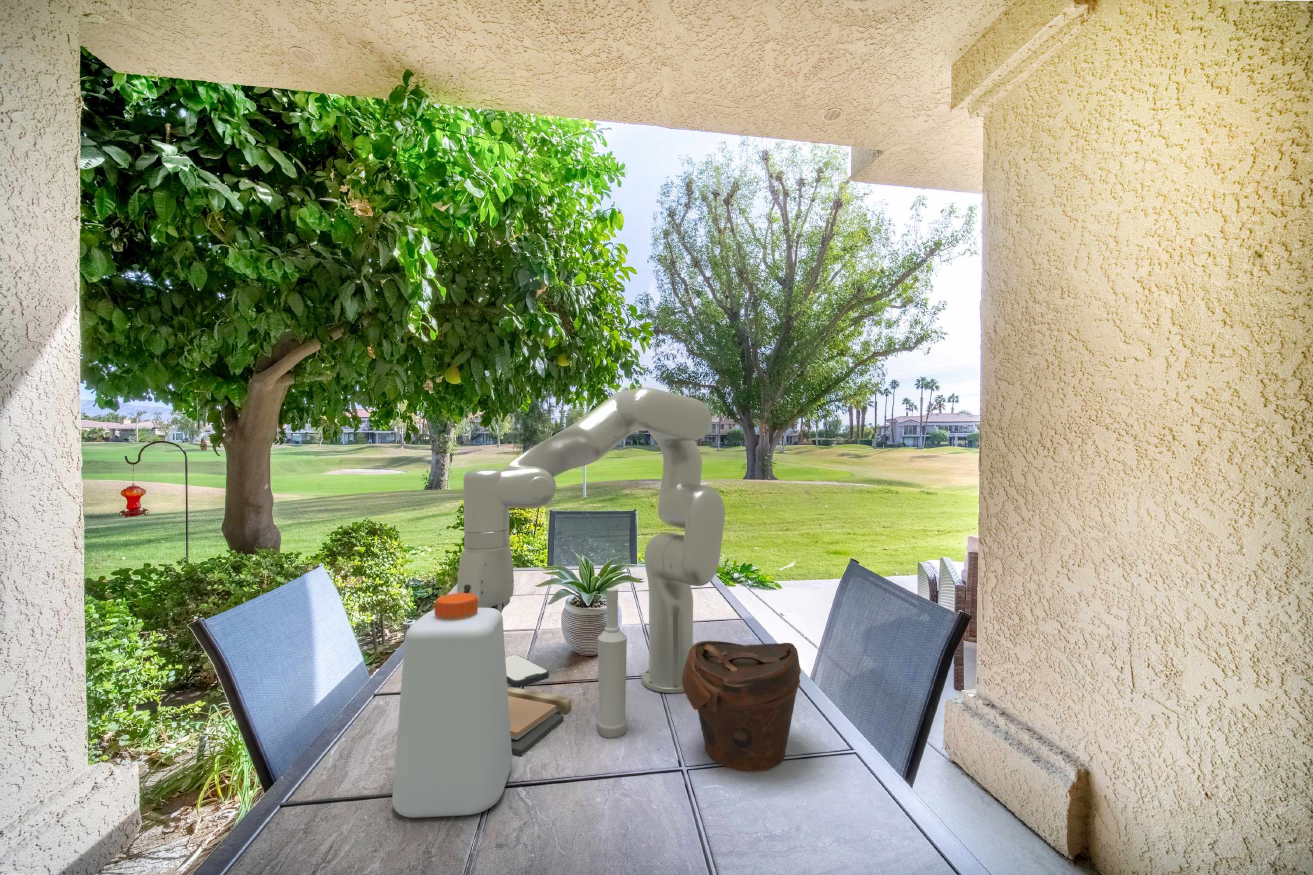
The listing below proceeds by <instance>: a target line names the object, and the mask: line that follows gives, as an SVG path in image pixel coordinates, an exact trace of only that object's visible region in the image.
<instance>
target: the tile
mask: <svg viewBox="0 0 1313 875" xmlns="http://www.w3.org/2000/svg"><path fill="white" fill-rule="evenodd" d="M508 704H509V719H510V733H511V739H516V740H518V739H519V738H520V737H522V736H523V735H525V734H526V733H528V732H529V731H530V730H532V729H533V728H535V727H536V726H537V725H539V724H540V723H542V722H543V721H544V720H546V719H547V718H549V717H550V716H551V715H553V714H554V713H556V705H552V704H547V703H542V702H537V701H532V700H526V699H521V698H516V697H511V696H508Z"/></svg>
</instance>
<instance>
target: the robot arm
mask: <svg viewBox="0 0 1313 875" xmlns="http://www.w3.org/2000/svg"><path fill="white" fill-rule="evenodd" d="M712 419H713V418H712V413H711V411H710V409H709V407H708V406H707V405H706V404H705V403H704V402H703V401H701V400H699V399H697V398H693V397H690V396H684V395H682V394H681V395H680V394H676V393H673V392H671V391H665V390H662V389H658V388H657V389H656V388H651V387H639V388H632V389H625V390H621V391H619V392H617V393H614V394H613V395H612V396H610V397H608V398H607V399H605V400H604V401H603V402H601V403H600V404H599V405H598V406H596V407H595V408H594V409H592V410H591V411H590V412H588V413H587V414H585V415H584V416H582V417H581V418H580V419H578V420H577V421H575V422H574V423H573V424H571V425H569V426H568V427H567V428H564V429H563V430H561V431H559V432H557V433H555V434H554V435H553V436H551V437H549V438H547V439H544V441H541V442H539V443H538V444H536V445H534V446H532V447H531V448H530V449H528V450H527V451H525V452H523V453H522V454H520V455H519V456H518V457H516V458H515V459H514V460H513V461H511V462H509V463H508V464H507V465H506V466H504V468H502V469H501V468H479V469H477V468H475V469H471V470H468V471H467V472H465V474H464V476H463V484H462V485H463V531H464V534H463V535H464V536H463V537H464V539H463V540H464V542H463V543H464V550H462V551H461V554H460V558H459V564H458V573H457V585H456V587H457V589H456V590H457V591H456V593H469V594H473V595H475V596H476V597H477V598H478V608H494V609H497V610H498V611H500V612H501V614H502V612H503V610H504V608H506V607H507V606H508V605H509V604H510V603H511V598H512V597H513V595H514V589H515V588H514V587H515V586H514V585H515V582H514V581H515V580H514V579H515V578H514V577H515V576H514V567H513V566H514V564H513V556H512V551H511V546H510V545H511V544H510V509H512V508H513V509H514V508H515V509H527V510H528V509H531V510H532V509H534V510H535V509H539V508H542V507H544V506H546V505H548V504H549V503H550V502H551V501H552V500H553V499H554V497H555V494H556V492H557V483H556V480H555V477H557V476H559V475H560V474H561V475H562V473H565V472H568V471H571V470H574V469H578V468H581V467H585V466H587V465H591V464H593V463H595V462H597V461H599V460H600V459H602V458H603V457H604V456H606V454H609V452H610V451H612V450H613V449H615V447H616V446H618V445H619V444H621V442H623V441H624V440H625V439H627V438H628V437H630V435H632V434H634V433H636V432H646V431H648V433H649V434H650V436H652V438H653V439H654V440H655V442H656V443H657V446H659V449H660V451H661V454H662V460H663V466H662V475H661V483H660V489H659V497H658V506H657V514H658V518H659V519H660V521H661V522H662V523H663V524H665V525H667V526H670V527H672V528H673V527H674V528H678V529H683V530H684V534H679V533H674V532H673V533H672V532H663V533H662V532H661V533H658V534H656V535H655V536H653V537H652V538H651V539H649V541H648V542H647V544H646V546H645V550H644V565H645V566H644V567H645V572H646V577H647V584H648V666H649V667H648V669H647V670H645V671H644V672H643V673H642V675H641V682H642V684H643V686H644V687H645V688H647V689H649V690H651V691H655V692H659V693H665V694H678V693H685V691H684V688H683V684H682V676H683V670H684V667H685V664H686V661H687V658H688V654H689V652H690V649H691V647H692V646H693V645H694V597H693V596H694V595H693V589H692V586H693V587H702V586H705V585H708V584H709V583H710V582H711V581H712V580H713V578H714V577H715V575H716V573H717V571H718V568H719V563H720V558H721V550H722V545H723V544H722V543H723V536H724V528H725V517H726V510H725V509H726V508H725V504H724V500H723V498H722V496H721V495H720V494H721V493H719V491H717V490H716V489H715V488H713V487H711V486H707V485H703V484H702V485H701V482H702V471H703V470H702V468H703V460H702V459H703V458H702V454H701V451H700V449H699V446H698V444H697V442H696V441H697V440H700V439H702V438H704V437H705V436H706V435H708V434H709V431H710V429H711V428H712V421H713V420H712ZM502 615H503V614H502Z"/></svg>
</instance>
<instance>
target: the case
mask: <svg viewBox="0 0 1313 875" xmlns="http://www.w3.org/2000/svg"><path fill="white" fill-rule="evenodd" d="M799 658H800V657H799V653H798V650H797V647H796V646H795V644H793V643H791V642H782V643H762V644H761V643H760V644H758V643H757V644H755V643H754V644H746V645H745V644H738V643H735V642H729V641H728V642H727V641H720V640H704V641H703V640H702V641H698V642H695V643H693V646H692V647H691V649H690V652H689V654H688V658H687V661H686V664H685V667H684V670H683V676H682V684H683V688H684V691H685V692H684V694H685V696H686V697H687V700H688V702H689V703H690V705H691V707H692V708H693V710H695V711H696V710H697V713H698V714H697V715H698V718H699V723H700V728H701V733H702V736H703V742H704V750H705V752H706V755H707V756H708V757H709V758H710V759H711V761H713V762H715V763H716V764H719V765H721V766H723V767H726V768H728V769H731V770H736V771H741V772H761V771H769V770H771V769H774V768H776V767H777V766H779V765H780V764H782V763H783V761H784V759H785V756H786V753H787V752H786V751H787V747H788V740H789V735H790V731H791V730H790V729H791V726H792V718H793V714H794V708H795V707H794V706H795V703H796V697H797V691H798V689H799V686H800V683H801V680H800V678H801V677H800V676H801V673H802V671H801V664H800V659H799Z"/></svg>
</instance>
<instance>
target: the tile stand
mask: <svg viewBox="0 0 1313 875" xmlns="http://www.w3.org/2000/svg"><path fill="white" fill-rule="evenodd" d="M507 690H508V696H511V697H516V698H521V699H526V700H532V701H537V702H542V703H547V704H552V705H556V713H554V714H558V715H562V714H563V715H567V714H569V712H571V711H572V698H571V697H566V696H560V695H556V694H555V695H554V694H550V693H545V692H540V691H534V690H528V689H524V688H520V687H513V686H508V685H507Z"/></svg>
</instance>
